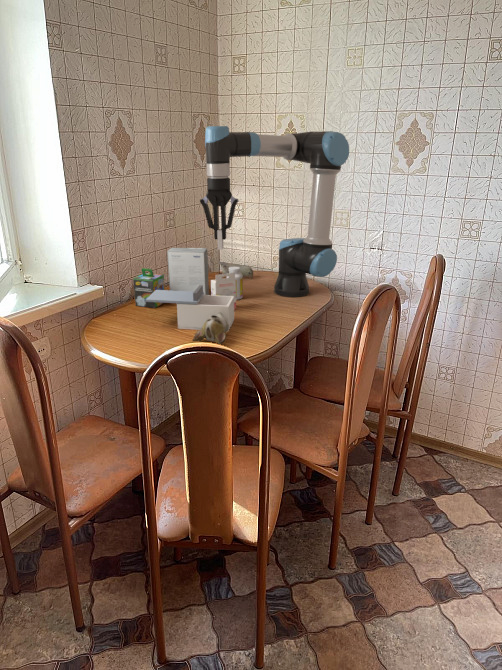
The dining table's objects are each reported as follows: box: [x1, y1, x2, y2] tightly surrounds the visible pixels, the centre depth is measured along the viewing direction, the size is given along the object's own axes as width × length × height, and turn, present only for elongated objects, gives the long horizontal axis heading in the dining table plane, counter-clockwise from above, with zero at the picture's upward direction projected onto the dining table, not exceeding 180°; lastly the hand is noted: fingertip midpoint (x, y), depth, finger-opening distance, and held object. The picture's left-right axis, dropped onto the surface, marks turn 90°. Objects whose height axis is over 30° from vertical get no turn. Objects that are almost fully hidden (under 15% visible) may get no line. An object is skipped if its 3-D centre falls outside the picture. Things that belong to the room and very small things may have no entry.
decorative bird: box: [217, 260, 254, 280], centre depth 240 cm, size 6×17×8 cm, turn 81°
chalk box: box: [132, 267, 166, 309], centre depth 200 cm, size 9×9×15 cm
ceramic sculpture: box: [191, 312, 229, 345], centre depth 167 cm, size 11×9×15 cm
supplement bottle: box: [226, 267, 244, 301], centre depth 209 cm, size 7×7×13 cm
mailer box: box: [176, 294, 235, 332], centre depth 180 cm, size 18×12×9 cm, turn 83°
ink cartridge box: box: [210, 273, 237, 310], centre depth 195 cm, size 9×5×15 cm, turn 117°
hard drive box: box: [166, 247, 210, 295], centre depth 209 cm, size 16×8×20 cm, turn 84°
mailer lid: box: [146, 285, 204, 304], centre depth 179 cm, size 18×12×4 cm, turn 83°
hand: (220, 248), depth 174 cm, fingers closed
